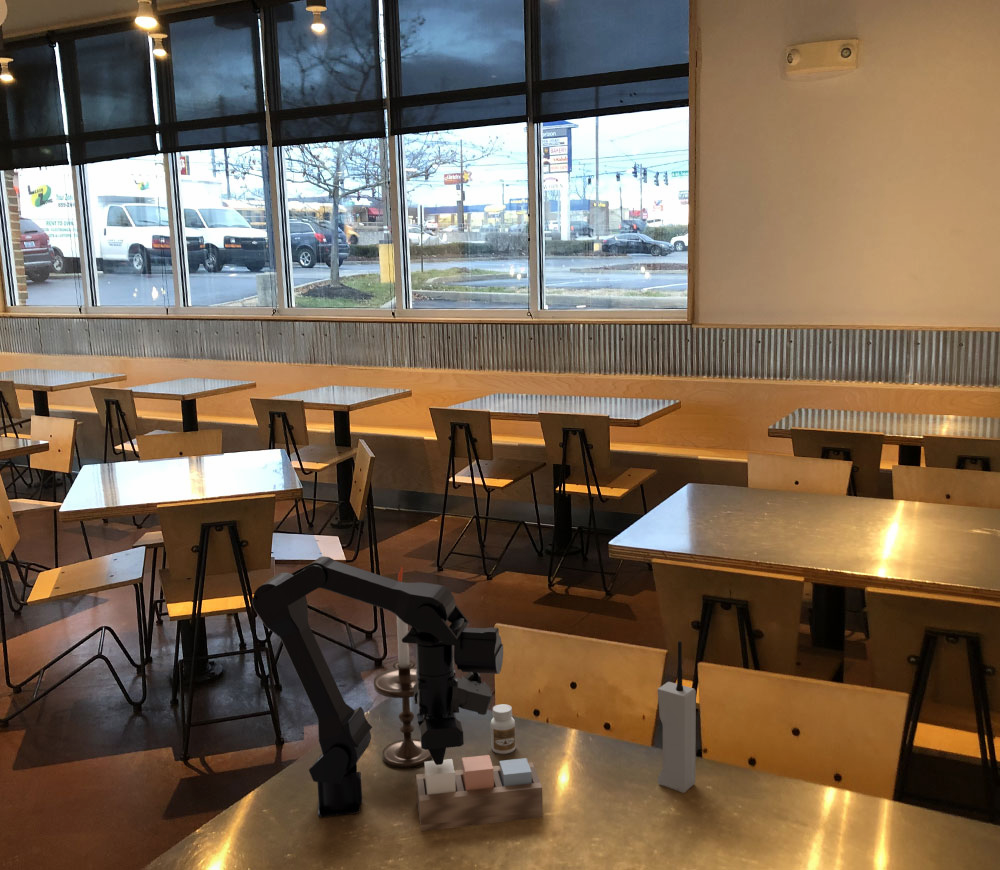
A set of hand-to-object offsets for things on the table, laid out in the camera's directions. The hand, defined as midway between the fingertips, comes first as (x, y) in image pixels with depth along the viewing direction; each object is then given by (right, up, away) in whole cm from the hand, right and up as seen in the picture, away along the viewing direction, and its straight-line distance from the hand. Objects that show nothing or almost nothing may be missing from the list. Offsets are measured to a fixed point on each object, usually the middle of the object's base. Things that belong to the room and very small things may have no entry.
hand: (438, 763), depth 146 cm
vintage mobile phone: (+39, -7, +8) cm, 40 cm away
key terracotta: (+6, -4, +2) cm, 8 cm away
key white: (0, -5, +1) cm, 5 cm away
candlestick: (-7, -6, +20) cm, 22 cm away
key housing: (+6, -8, +2) cm, 11 cm away
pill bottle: (+10, -5, +22) cm, 25 cm away
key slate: (+12, -5, +3) cm, 13 cm away
